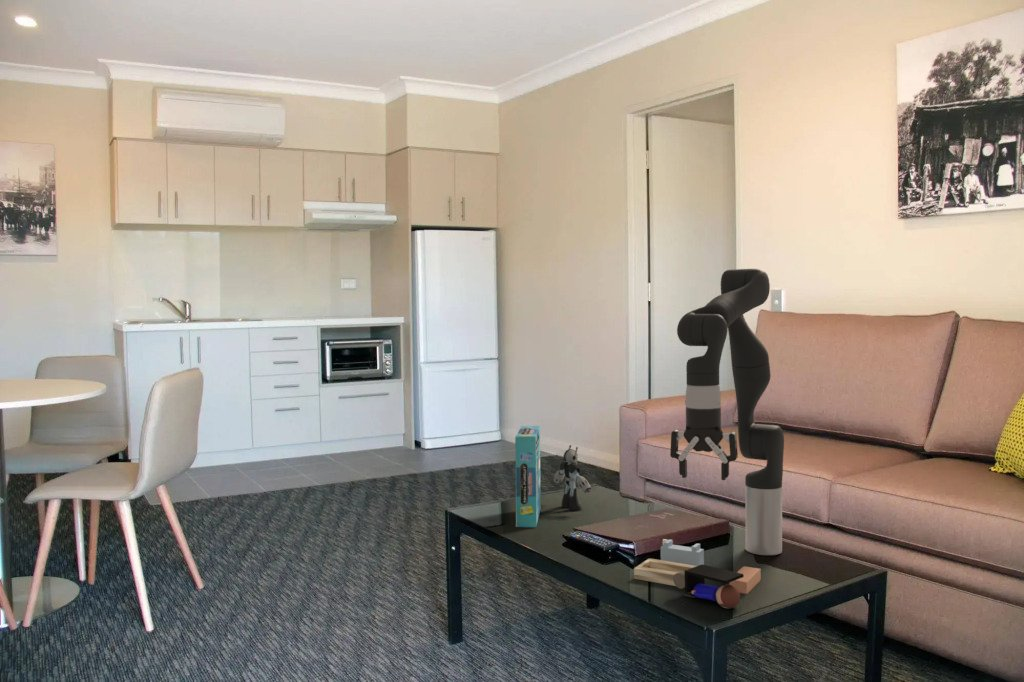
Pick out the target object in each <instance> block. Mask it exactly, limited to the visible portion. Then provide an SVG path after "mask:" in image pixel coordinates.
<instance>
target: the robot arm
mask: <svg viewBox="0 0 1024 682" xmlns="http://www.w3.org/2000/svg"><path fill="white" fill-rule="evenodd" d="M770 287H771V284H770V278H769V276H768V274H767V272H766V271H765V270H763V269H761V268H738V269H737V268H736V269H735V268H734V269H733V268H732V269H727V270H725V271H723V273H722V274H721V278H720V294H719V295H717V296H716V297H714V298H712V299H711V300H710V301H708V302H707V303H706V305H704V306H701V307H699V308H695V309H693V310H691V311H689V312H687V313H685V314H684V315H683V316H682V317H681V318H680V320H679V322H677V323H678V324H677V327H676V334H677V338H678V340H679V341H680V342H681V343H682V344H684V345H686V346H689V347H707V348H706V351H705V353H704V354H703V355H700V356H695V357H691V358H689V359H688V360H687V361H686V371H685V372H686V389H685V400H684V405H685V430H684V431H683V430H678V429H674V430H672V431H671V434H670V454H669V456H670V458H672V459H676V460H677V461H678V473H679V475H680V476H681V478H683V479H686V478H687V477H688V459H687V457H688V455H689V454H690V453H691V452H692V451H693V450H694V451H695V452H705V453H710V452H713V453H714V454H715V455H716V456H717V457H718V458H719V460H721V463H720V464H721V465H720V468H721V472H720V473H721V477H720V478H721V481H726V480H727V478H728V477H729V475H730V463H731V462H735V461H736V460H737V459H738V457H739V455H738V447H739V451H740V454H741V455H742V457H743V458H745V459H752V460H759V461H766V465H765V467H764V468H761V469H759V470H755V471H750V472H748V473H747V474H746V475H745V479H744V483H745V487H744V488H745V489H744V490H745V496H744V497H745V503H744V504H745V536H744V537H745V539H744V540H745V542H744V543H745V551H746V552H748V553H750V554H753V555H759V556H776V555H779V554H782V552H783V474H784V454H785V453H784V449H785V435H784V431H783V429H782V427H781V426H779V425H774V424H761V423H755V421H754V413H755V409H756V407H757V404H758V402H759V401H760V399H761V397H762V396H763V394H764V393H765V391H766V389H767V387H768V386H769V384H770V381H771V367H770V356H769V353H768V351H767V348H766V346H765V345H764V344H763V342H762V340H760V339H759V337H758V336H757V335H756V334H755V332H753V330H752V329H751V328H750V326H749V324H748V323H747V321H746V318H745V317H744V314H746V313H748V312H749V311H751V310H753V309H755V308H757V307H759V306H760V307H761V306H762V305H763V304H765V303H766V301H767V300H768V298H769V294H770V291H771V289H770ZM727 335H728V337H729V338H728V339H729V349H730V359H731V369H732V377H733V378H732V379H733V383H734V390H735V391H734V392H735V397H736V398H735V399H736V407H737V408H736V410H737V433H736V431H731V432H723V430H722V396H721V395H722V394H721V390H720V389H721V388H720V365H721V359H722V354H723V351H724V346H725V342H726V340H727ZM737 434H738V435H737ZM682 437H683V438H684V439H685V440H686V442H687V446H686V447H685V448H684V449H683V451H682V452H679V443H680V441H681V440H682ZM737 437H738V442H737ZM723 439H725V442H726V443H727V444H728V445H729V455H728V454H727V453H726V452H725V450H724V448H723V446H722V445H721V444H720V443H721V441H722V440H723Z"/></svg>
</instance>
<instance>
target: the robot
mask: <svg viewBox="0 0 1024 682" xmlns="http://www.w3.org/2000/svg"><path fill="white" fill-rule="evenodd" d="M571 447H572V445H571V444H570V445H569V447H568V449H566V450H565V451H564V453H563V460H564V461H562V462H561V463H560V464H559V470H556V471H555V473H554V476H553V479H552V480H553V482H554V483H555V484H561V482H563V480H564V479H565V484H564V491H563V496H562V500H561V508H562V509H568V511H571V512H579V511H582V509H583V508H582V506H581V504H580V503H579V499H578V493H577V487H576V484H577V486H578V487H579V488H580V490H581V491H582V492H583V493H585V494H586V493H590V491H591V489H592V487H591V485H590V483H589V482H588V480H587V479H586V478H585V476H582V475H580V474H579V473H580V472H581V469H580V468H581V467H579V465H578V463H577V462H578V458H579V457H578V446H576V447H575V450H574V449H572V448H571Z"/></svg>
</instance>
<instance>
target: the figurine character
mask: <svg viewBox="0 0 1024 682" xmlns="http://www.w3.org/2000/svg"><path fill="white" fill-rule="evenodd" d="M684 572H685V573H683V572H679V573H676V574H675V575H674V576H673V581H674V584H675V585H676V586H675V587H677V588H678V589H680V590H682V589H684V593H686V594H684V595H683V596H684V597H686V598H693V599H695V598H698V599H702V600H708V601H713V602H717V604H718V605H719V606H720V607H722V608H724V609H728V610H730V609H734V608H736V606H738V605H739V603H740V600H741V595H740V594H741V593H739V591H738V590H737V588H735V587H734V586H732V585H729V582H732V581H734V580H737V579H740V578H742V577H744V575H743V574H741V573H737V572H736V571H731V570H727V569H722V568H719V567H714V566H711V565H706V564H704V565H703V564H702V565H699V566H696V567H693V568H691V569H688V570H685V571H684ZM706 580H709V581H713V582H717V583H721V584H724V585H721V586H717V585H710V584H705V581H706ZM688 593H691V594H688Z"/></svg>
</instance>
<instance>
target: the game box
mask: <svg viewBox="0 0 1024 682" xmlns="http://www.w3.org/2000/svg"><path fill="white" fill-rule="evenodd" d="M540 427H541V426H539V425H522V426H520V428H519V430H518V432H517V434H515V435H516V436H515V439H514V440H515V445H514V446H515V447H514V448H515V527H516V528H537V525H538V522H539V518H540V513H541V511H542V509H541V508H542V504H541V503H542V501H541V500H542V499H541V498H542V495H541V494H542V493H541V489H542V488H541V487H542V486H541V485H542V483H541V428H540Z"/></svg>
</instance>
